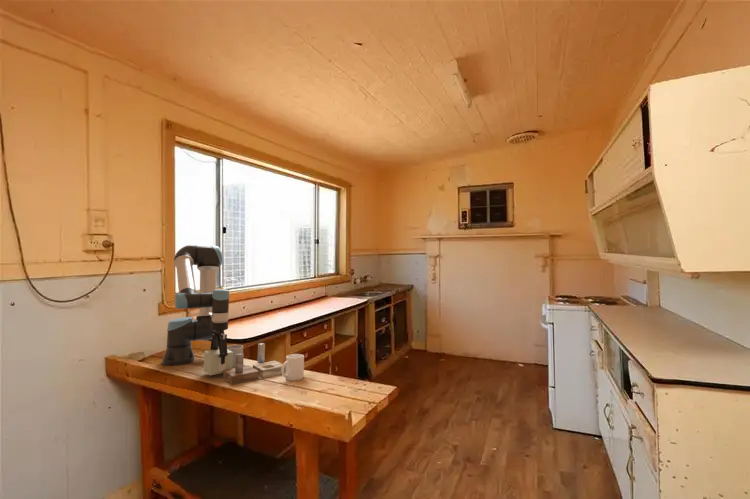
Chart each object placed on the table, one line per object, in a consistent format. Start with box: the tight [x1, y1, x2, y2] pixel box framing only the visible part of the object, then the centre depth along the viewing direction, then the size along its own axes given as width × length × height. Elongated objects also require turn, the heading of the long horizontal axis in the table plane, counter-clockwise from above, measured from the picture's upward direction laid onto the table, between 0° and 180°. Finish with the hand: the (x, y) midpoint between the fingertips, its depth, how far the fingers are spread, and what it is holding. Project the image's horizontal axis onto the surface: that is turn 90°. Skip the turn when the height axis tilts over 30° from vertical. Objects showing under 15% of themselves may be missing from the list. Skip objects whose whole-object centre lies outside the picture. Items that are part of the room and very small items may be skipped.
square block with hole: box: [252, 360, 286, 379], centre depth 169 cm, size 12×12×4 cm
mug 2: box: [280, 353, 305, 382], centre depth 160 cm, size 12×8×10 cm
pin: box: [257, 342, 266, 364], centre depth 178 cm, size 3×3×12 cm
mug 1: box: [227, 344, 244, 368], centre depth 181 cm, size 11×10×10 cm
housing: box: [203, 348, 233, 376], centre depth 165 cm, size 10×10×9 cm
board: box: [222, 353, 260, 385], centre depth 160 cm, size 12×12×12 cm
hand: (218, 368), depth 165 cm, fingers closed on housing, 10 cm apart
